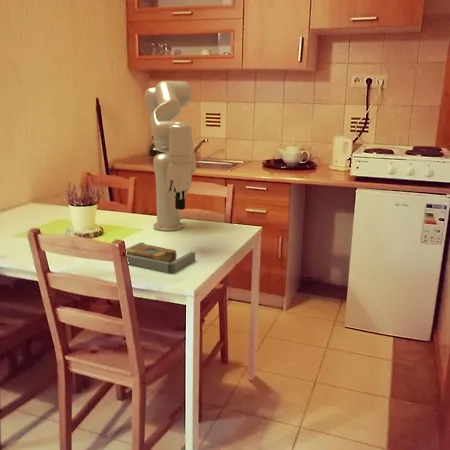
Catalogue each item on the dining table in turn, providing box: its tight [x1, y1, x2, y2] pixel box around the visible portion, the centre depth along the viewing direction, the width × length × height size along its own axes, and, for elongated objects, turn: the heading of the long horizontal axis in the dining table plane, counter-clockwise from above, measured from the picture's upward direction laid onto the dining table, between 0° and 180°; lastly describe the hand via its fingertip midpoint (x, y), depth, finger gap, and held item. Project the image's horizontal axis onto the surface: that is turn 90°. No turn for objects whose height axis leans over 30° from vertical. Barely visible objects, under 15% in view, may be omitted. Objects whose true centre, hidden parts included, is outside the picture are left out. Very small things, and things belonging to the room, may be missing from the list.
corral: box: [125, 241, 196, 275], centre depth 166 cm, size 14×23×3 cm, turn 63°
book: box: [126, 243, 177, 263], centre depth 167 cm, size 15×11×5 cm
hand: (180, 208), depth 178 cm, fingers closed
